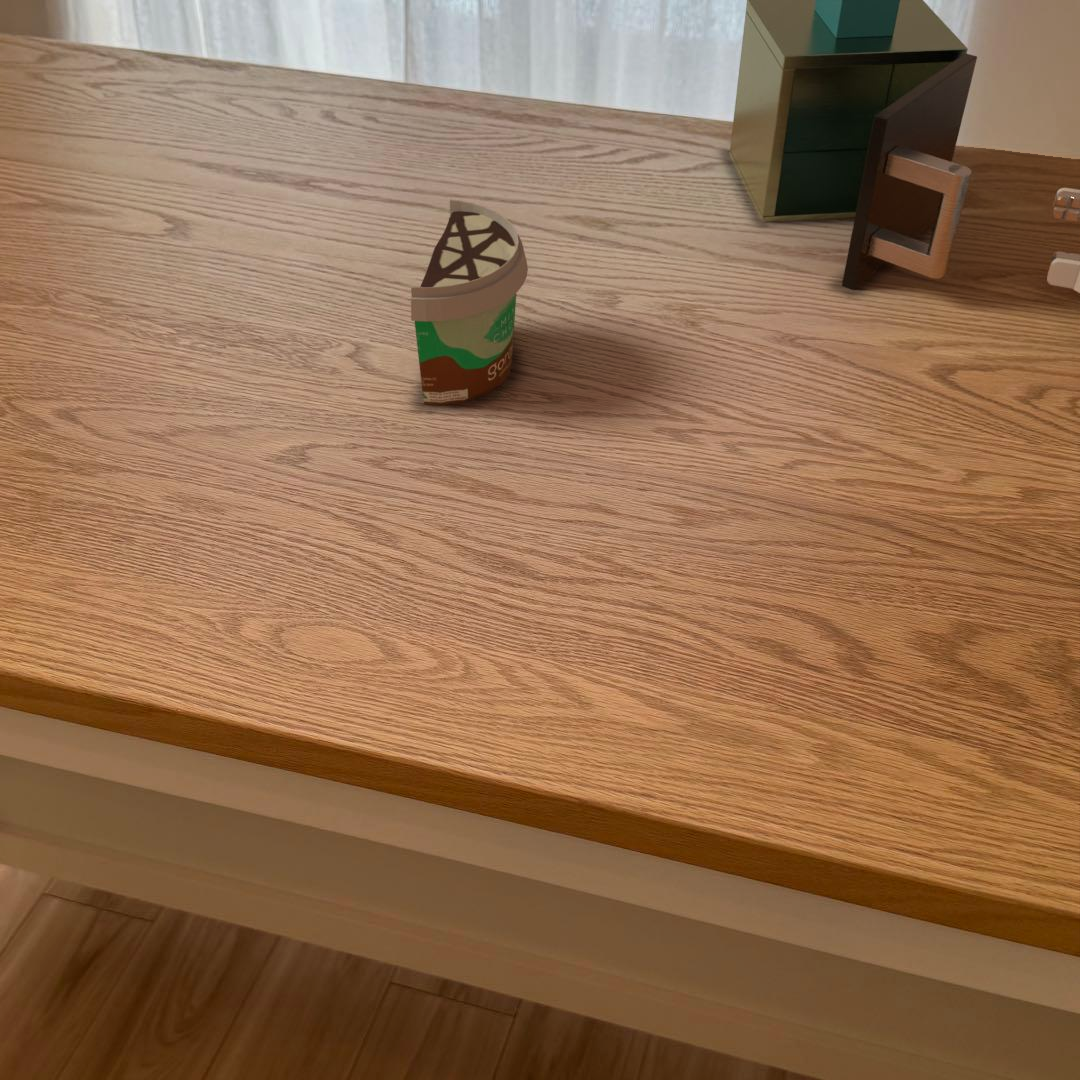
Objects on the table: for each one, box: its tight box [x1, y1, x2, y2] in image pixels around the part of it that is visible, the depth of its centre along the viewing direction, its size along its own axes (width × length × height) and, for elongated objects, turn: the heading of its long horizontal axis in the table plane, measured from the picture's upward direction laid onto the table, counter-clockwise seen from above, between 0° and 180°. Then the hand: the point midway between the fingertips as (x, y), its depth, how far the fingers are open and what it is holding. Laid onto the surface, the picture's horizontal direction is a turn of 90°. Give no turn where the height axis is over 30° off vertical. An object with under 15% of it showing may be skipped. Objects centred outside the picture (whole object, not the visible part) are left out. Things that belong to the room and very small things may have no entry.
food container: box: [410, 199, 529, 406], centre depth 82 cm, size 12×6×10 cm, turn 171°
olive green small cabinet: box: [729, 0, 969, 223], centre depth 101 cm, size 12×14×14 cm
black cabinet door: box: [841, 53, 978, 291], centre depth 91 cm, size 7×14×14 cm, turn 141°
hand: (1052, 233), depth 86 cm, fingers open, 8 cm apart
